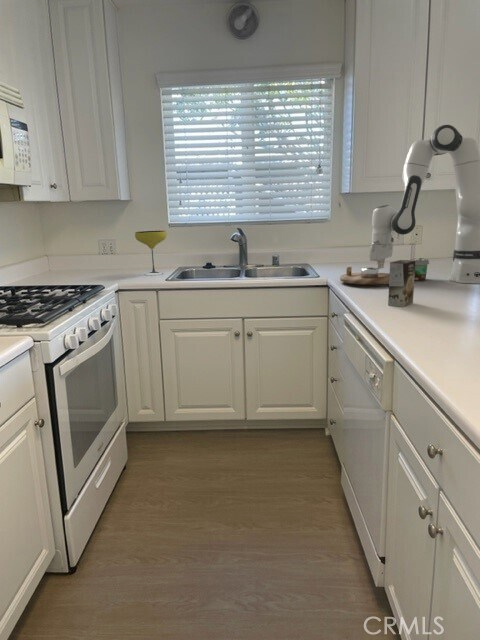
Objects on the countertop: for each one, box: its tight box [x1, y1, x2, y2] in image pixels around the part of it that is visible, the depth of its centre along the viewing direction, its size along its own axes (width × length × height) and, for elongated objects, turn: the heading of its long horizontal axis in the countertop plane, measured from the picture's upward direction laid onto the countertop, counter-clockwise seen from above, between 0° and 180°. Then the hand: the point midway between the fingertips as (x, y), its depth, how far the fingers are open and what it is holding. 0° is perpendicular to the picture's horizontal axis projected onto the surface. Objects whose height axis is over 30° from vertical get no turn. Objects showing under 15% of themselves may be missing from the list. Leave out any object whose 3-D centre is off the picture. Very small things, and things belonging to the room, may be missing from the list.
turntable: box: [339, 266, 390, 286], centre depth 223 cm, size 28×28×5 cm
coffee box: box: [387, 259, 416, 308], centre depth 175 cm, size 9×6×16 cm
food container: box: [414, 257, 430, 282], centre depth 225 cm, size 12×6×10 cm, turn 143°
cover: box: [360, 266, 380, 278], centre depth 222 cm, size 8×8×4 cm
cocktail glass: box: [134, 230, 167, 273], centre depth 277 cm, size 18×18×25 cm
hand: (380, 268), depth 231 cm, fingers closed
